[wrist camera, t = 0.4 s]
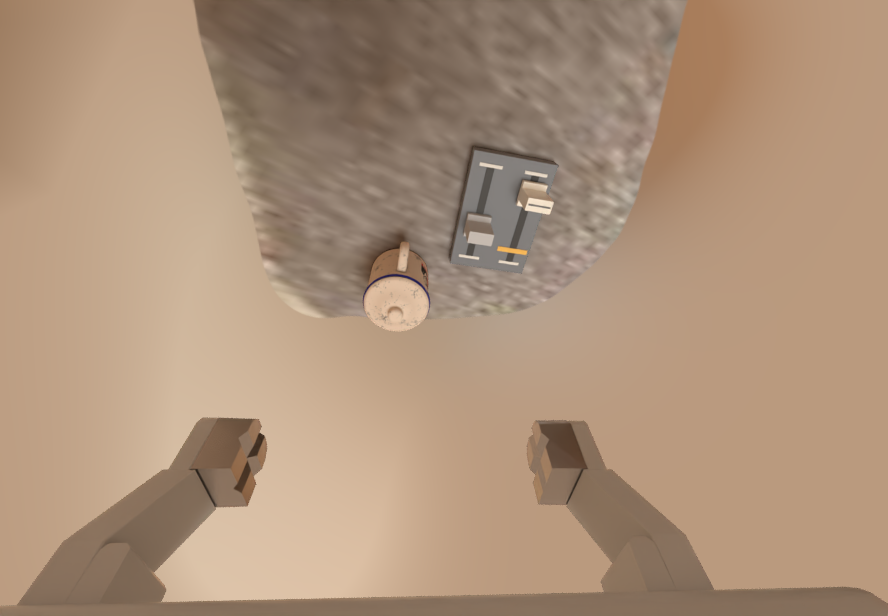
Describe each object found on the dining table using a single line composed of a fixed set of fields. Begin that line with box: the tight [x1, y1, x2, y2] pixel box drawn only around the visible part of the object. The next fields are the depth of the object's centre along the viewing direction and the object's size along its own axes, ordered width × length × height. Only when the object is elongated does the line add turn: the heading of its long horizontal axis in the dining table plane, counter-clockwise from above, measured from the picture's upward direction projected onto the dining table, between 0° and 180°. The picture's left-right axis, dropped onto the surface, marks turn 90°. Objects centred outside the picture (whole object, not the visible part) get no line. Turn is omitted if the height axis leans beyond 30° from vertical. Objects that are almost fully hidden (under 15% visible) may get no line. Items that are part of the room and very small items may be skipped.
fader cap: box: [516, 180, 554, 215], centre depth 49 cm, size 3×3×5 cm
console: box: [450, 146, 558, 274], centre depth 52 cm, size 16×11×7 cm
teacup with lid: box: [363, 242, 430, 331], centre depth 54 cm, size 12×9×12 cm
